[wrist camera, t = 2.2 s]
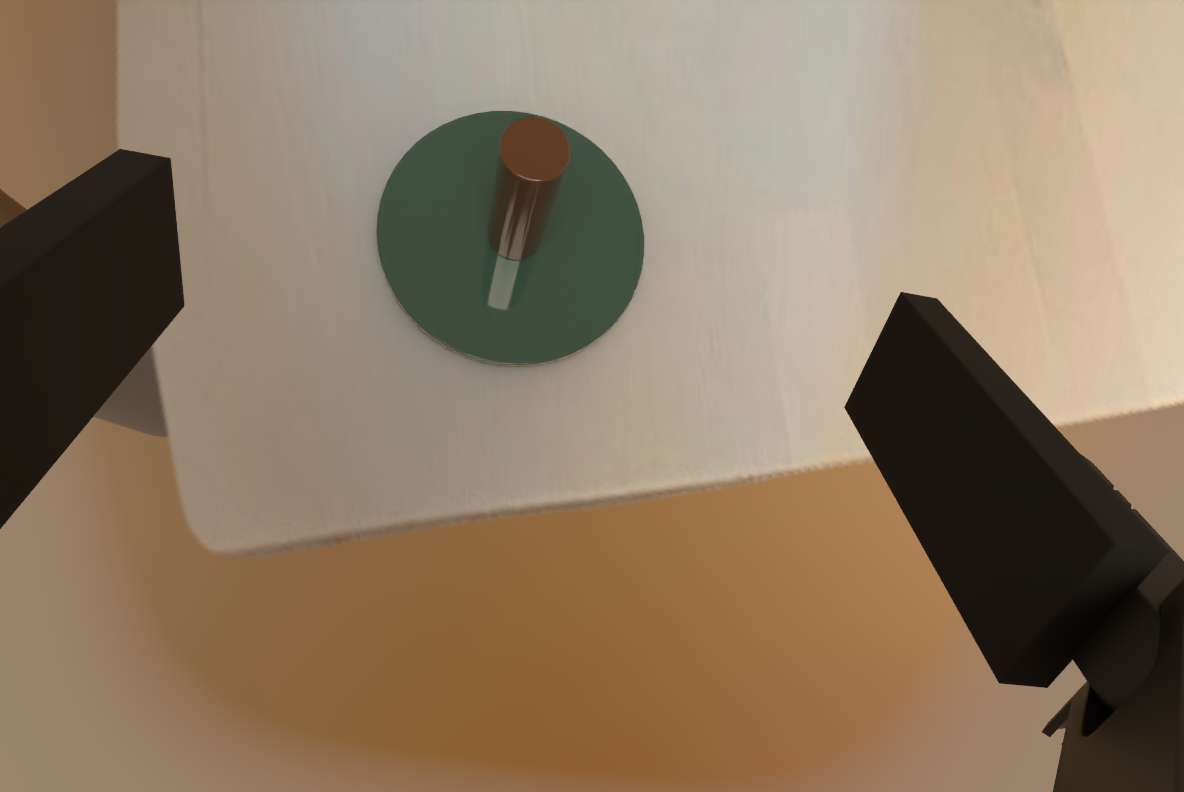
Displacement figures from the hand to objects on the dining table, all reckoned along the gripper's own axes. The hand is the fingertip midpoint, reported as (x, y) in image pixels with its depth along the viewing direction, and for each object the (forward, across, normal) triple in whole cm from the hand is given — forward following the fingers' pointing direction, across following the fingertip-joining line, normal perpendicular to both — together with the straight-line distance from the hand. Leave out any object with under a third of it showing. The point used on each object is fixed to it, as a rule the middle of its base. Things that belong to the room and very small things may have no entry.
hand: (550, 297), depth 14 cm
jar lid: (+24, 0, -9) cm, 26 cm away
